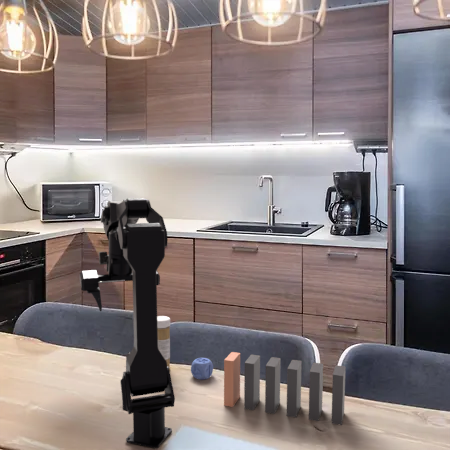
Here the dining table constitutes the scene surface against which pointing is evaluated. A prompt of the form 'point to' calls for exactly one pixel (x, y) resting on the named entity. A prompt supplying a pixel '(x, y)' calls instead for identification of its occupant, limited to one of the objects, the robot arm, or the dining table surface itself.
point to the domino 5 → (315, 391)
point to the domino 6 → (338, 394)
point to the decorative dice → (202, 368)
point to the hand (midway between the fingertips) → (119, 308)
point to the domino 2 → (252, 382)
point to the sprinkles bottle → (164, 337)
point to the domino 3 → (272, 385)
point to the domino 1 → (231, 379)
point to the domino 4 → (294, 388)
